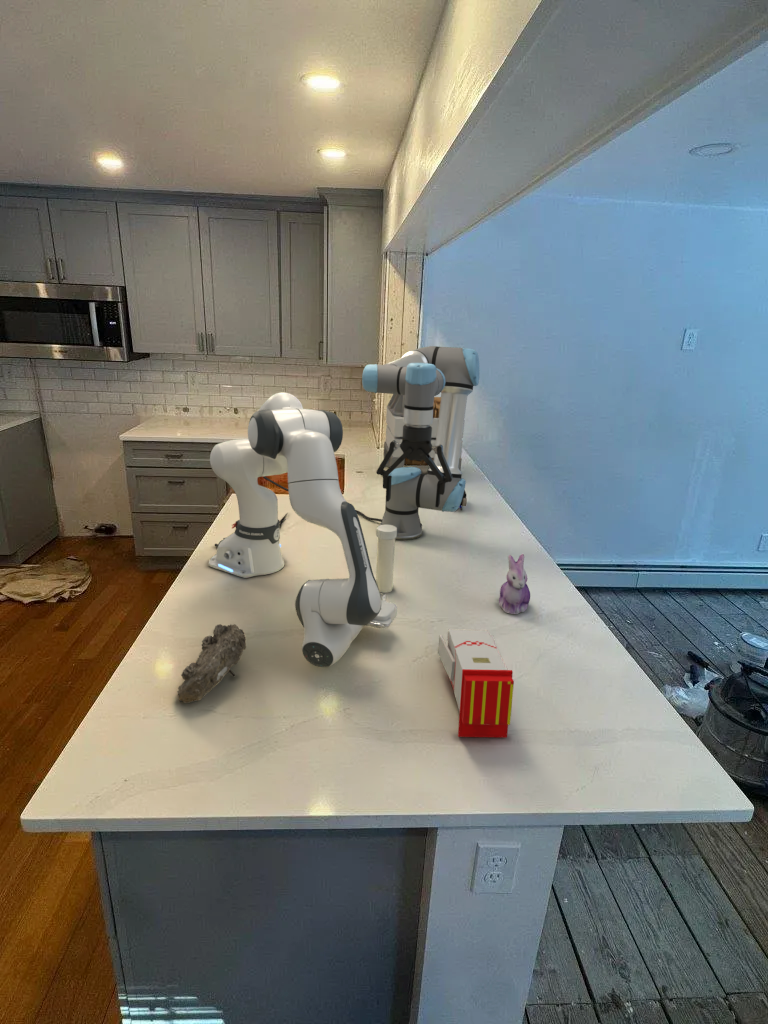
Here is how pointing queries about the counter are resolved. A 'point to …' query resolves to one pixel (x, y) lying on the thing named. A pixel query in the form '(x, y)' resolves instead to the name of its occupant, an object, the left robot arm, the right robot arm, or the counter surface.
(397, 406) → the grey boxy container
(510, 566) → the figurine
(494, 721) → the toy
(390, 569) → the jar
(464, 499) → the figurine character
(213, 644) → the fossil
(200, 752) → the counter surface
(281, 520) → the feather
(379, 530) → the lid
